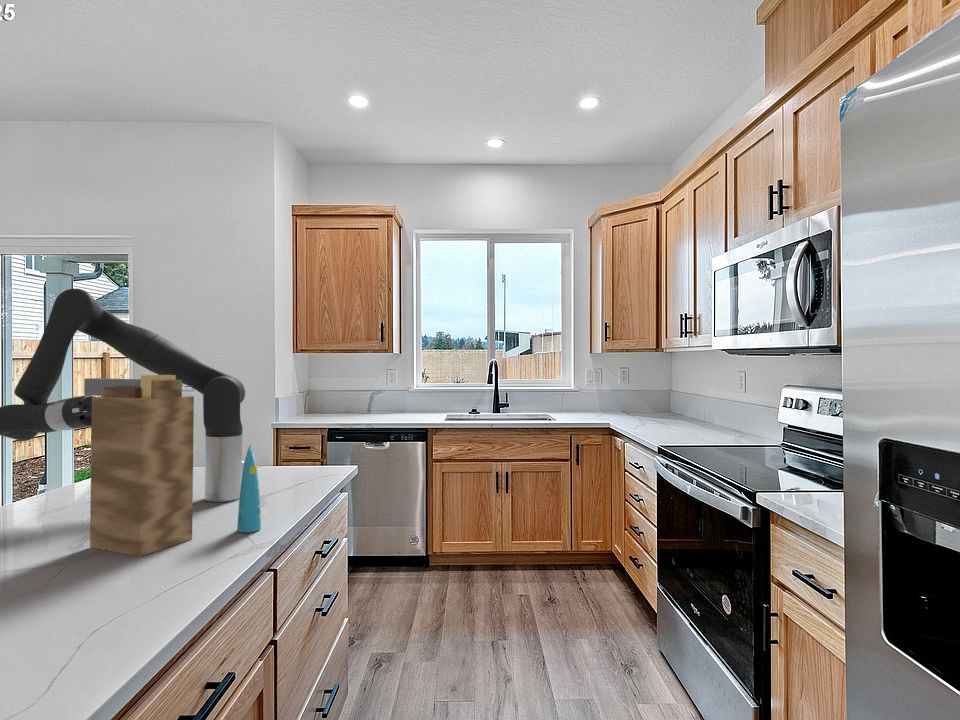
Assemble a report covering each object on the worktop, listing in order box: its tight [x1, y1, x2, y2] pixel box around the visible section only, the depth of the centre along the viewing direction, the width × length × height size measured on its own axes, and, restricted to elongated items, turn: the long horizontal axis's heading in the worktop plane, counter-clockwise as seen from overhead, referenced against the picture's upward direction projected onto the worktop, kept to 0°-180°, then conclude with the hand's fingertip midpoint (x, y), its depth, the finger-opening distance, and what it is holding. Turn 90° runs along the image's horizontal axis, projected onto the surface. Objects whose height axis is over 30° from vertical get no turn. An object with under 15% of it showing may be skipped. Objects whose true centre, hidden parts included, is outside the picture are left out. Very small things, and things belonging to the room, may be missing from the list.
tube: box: [236, 441, 262, 533], centre depth 129 cm, size 7×5×19 cm, turn 26°
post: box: [89, 380, 195, 557], centre depth 119 cm, size 12×14×34 cm
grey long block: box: [83, 374, 176, 398], centre depth 121 cm, size 6×21×4 cm, turn 68°
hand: (134, 402), depth 135 cm, fingers open, 8 cm apart
